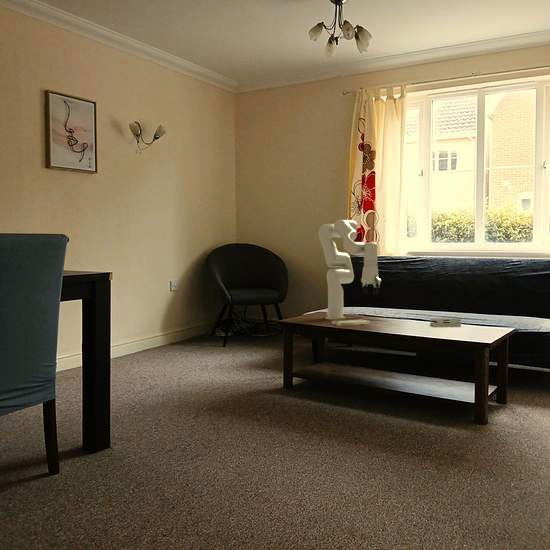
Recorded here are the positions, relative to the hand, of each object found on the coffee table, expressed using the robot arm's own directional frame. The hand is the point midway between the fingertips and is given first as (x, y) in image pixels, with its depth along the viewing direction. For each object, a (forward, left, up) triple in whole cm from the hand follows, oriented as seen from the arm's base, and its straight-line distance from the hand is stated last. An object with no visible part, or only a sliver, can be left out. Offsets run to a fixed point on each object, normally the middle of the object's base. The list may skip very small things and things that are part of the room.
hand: (370, 294), depth 317 cm
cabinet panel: (-11, -5, -18) cm, 22 cm away
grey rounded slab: (+22, +38, -16) cm, 46 cm away
